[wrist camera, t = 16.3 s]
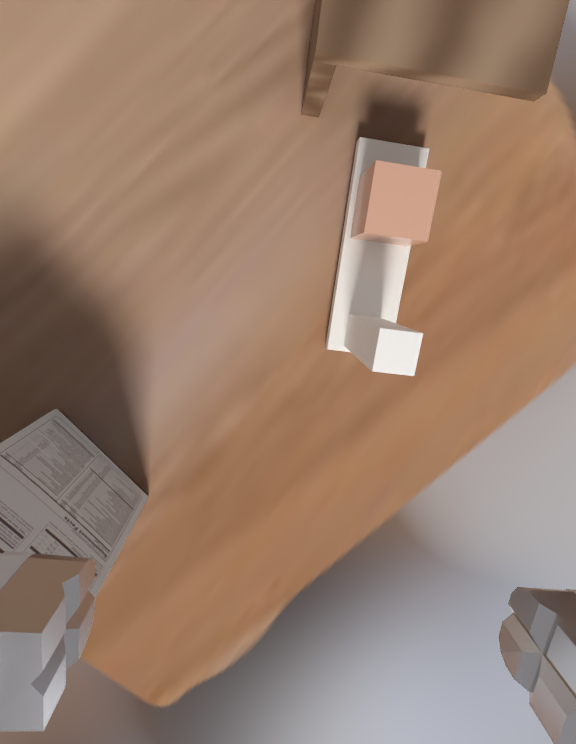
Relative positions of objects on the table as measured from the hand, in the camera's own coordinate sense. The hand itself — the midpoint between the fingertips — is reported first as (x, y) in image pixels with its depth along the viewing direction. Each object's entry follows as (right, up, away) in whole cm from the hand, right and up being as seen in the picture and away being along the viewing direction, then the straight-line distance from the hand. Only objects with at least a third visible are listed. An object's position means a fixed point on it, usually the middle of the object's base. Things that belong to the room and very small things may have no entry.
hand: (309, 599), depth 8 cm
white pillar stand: (+7, +15, +29) cm, 33 cm away
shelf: (+9, +29, +26) cm, 39 cm away
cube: (+8, +18, +27) cm, 33 cm away
